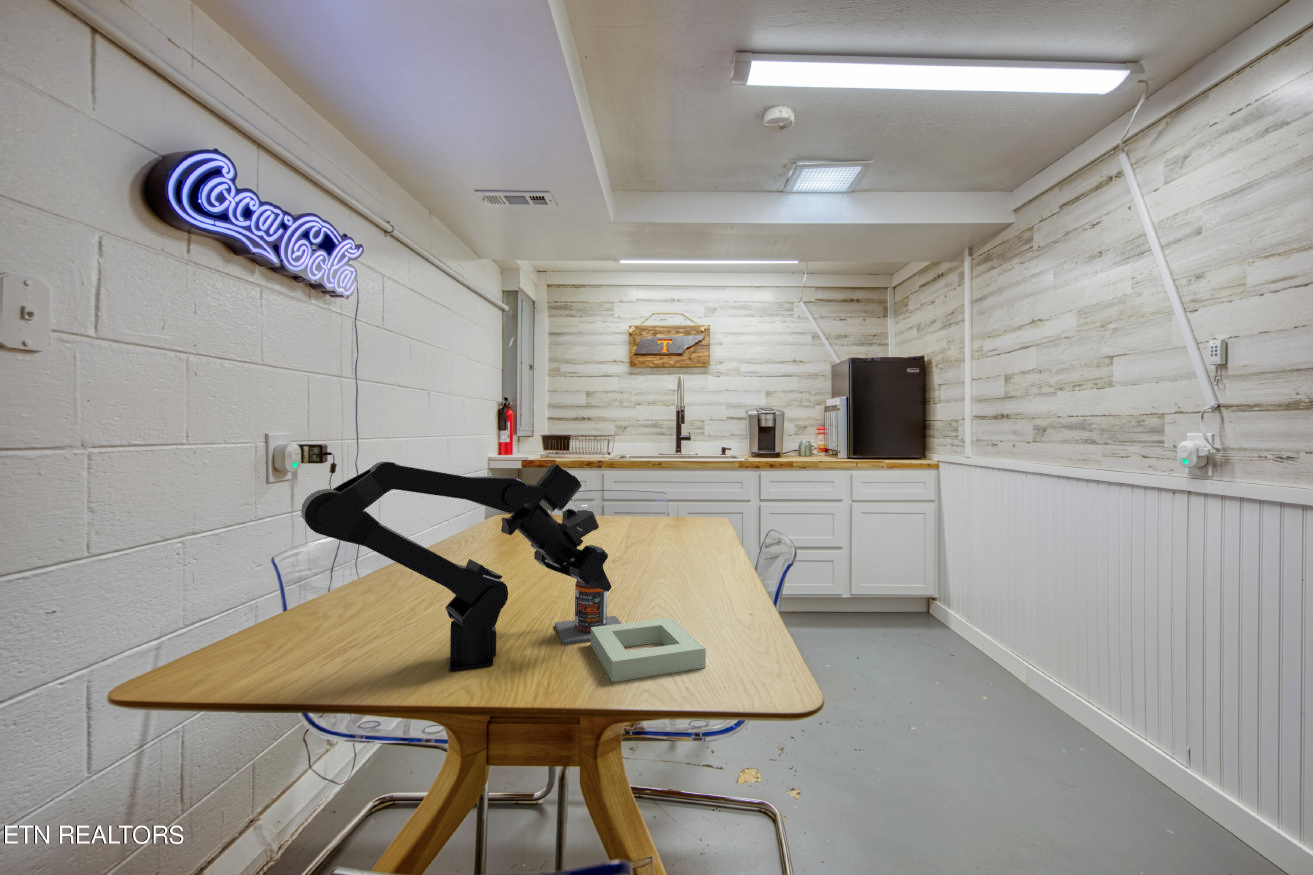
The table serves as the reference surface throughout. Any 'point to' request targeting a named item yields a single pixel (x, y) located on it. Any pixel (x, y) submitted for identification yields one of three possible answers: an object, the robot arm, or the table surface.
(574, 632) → the mat
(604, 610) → the supplement bottle
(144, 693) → the table surface
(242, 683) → the table surface
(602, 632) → the square frame
